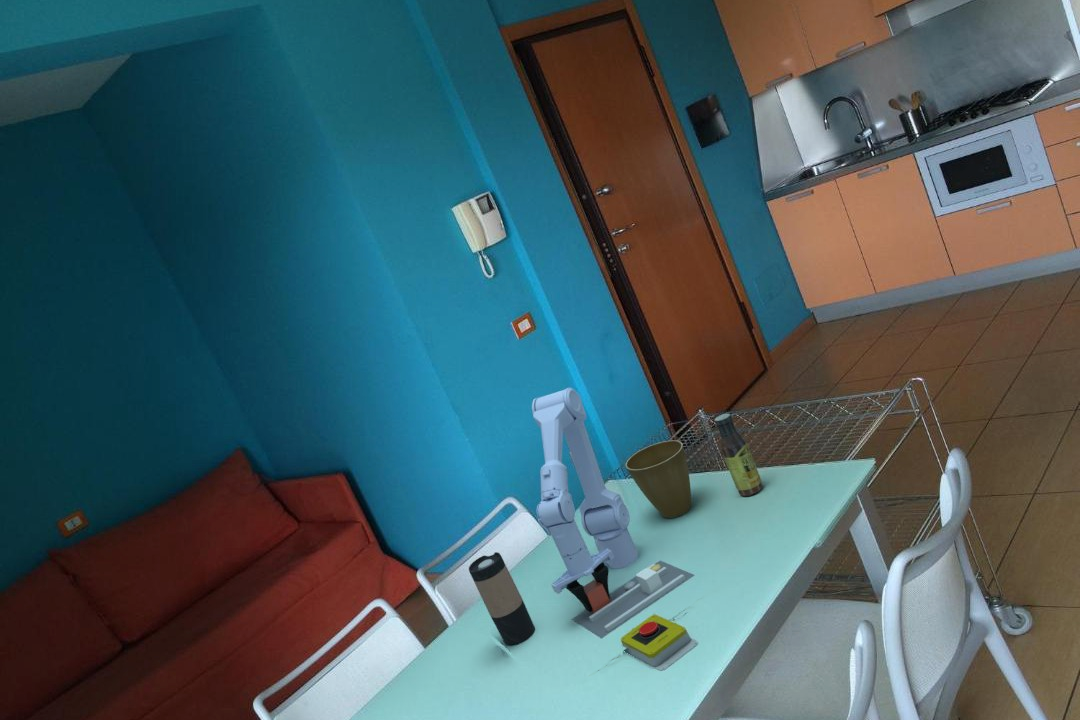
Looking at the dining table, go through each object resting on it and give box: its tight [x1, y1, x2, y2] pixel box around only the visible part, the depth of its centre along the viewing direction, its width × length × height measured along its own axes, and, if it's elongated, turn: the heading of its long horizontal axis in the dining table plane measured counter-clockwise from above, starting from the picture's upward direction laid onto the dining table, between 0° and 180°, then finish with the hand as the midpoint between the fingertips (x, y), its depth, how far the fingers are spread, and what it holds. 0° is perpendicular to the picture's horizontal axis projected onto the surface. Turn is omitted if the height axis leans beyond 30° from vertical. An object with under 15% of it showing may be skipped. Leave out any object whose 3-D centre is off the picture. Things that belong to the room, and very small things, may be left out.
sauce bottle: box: [714, 413, 763, 497], centre depth 219 cm, size 7×6×20 cm
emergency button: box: [620, 614, 699, 672], centre depth 173 cm, size 9×4×15 cm
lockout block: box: [582, 579, 611, 613], centre depth 194 cm, size 4×4×5 cm
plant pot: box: [625, 439, 692, 519], centre depth 226 cm, size 15×15×16 cm
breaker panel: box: [571, 560, 695, 639], centre depth 192 cm, size 14×24×2 cm, turn 114°
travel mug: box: [468, 552, 536, 647], centre depth 196 cm, size 8×8×20 cm
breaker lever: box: [635, 567, 663, 595], centre depth 191 cm, size 4×3×4 cm
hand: (598, 604), depth 194 cm, fingers closed on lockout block, 4 cm apart
